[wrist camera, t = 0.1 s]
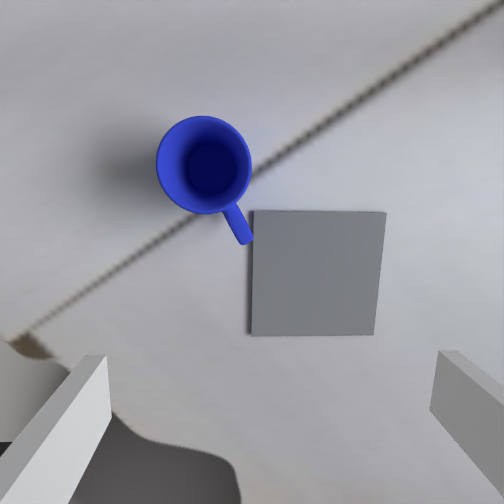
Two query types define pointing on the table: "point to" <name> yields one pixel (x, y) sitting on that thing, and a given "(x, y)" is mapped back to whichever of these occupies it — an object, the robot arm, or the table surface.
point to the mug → (206, 169)
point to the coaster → (316, 272)
